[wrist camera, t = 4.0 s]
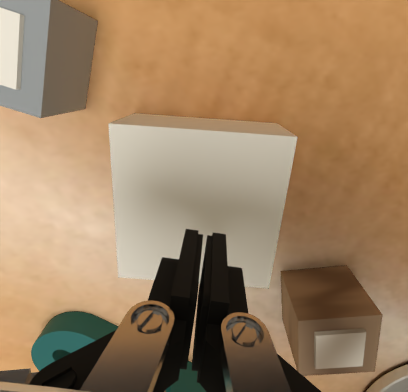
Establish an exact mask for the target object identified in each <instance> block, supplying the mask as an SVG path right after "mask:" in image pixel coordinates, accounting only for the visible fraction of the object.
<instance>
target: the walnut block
mask: <svg viewBox="0 0 408 392" xmlns="http://www.w3.org/2000/svg"><path fill="white" fill-rule="evenodd" d="M281 293H282V317H283V323H284V326H285V330H286V333H287V336H288V340H289V343H290V347H291V350H292V354H293V357H294V361H295V364H296V368H297V371H298V372H299V373H300V374H301V375H302V376H307V375H324V374H341V373H357V372H374V371H375V366H376V358H377V351H378V343H379V336H380V328H381V321H382V314H381V312H380V311H379V309H378V308H377V307H376V305H375V304H374V303H373V301H372V300H371V298H370V297H369V296H368V294H367V293H366V291H365V290H364V289H363V287H362V286H361V285H360V283H359V282H358V280H357V279H356V278H355V276H354V275H353V273H352V272H351V271H350V269H349V268H348V267H347V265H344V266H333V267H322V268H311V269H300V270H289V271H281Z"/></svg>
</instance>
